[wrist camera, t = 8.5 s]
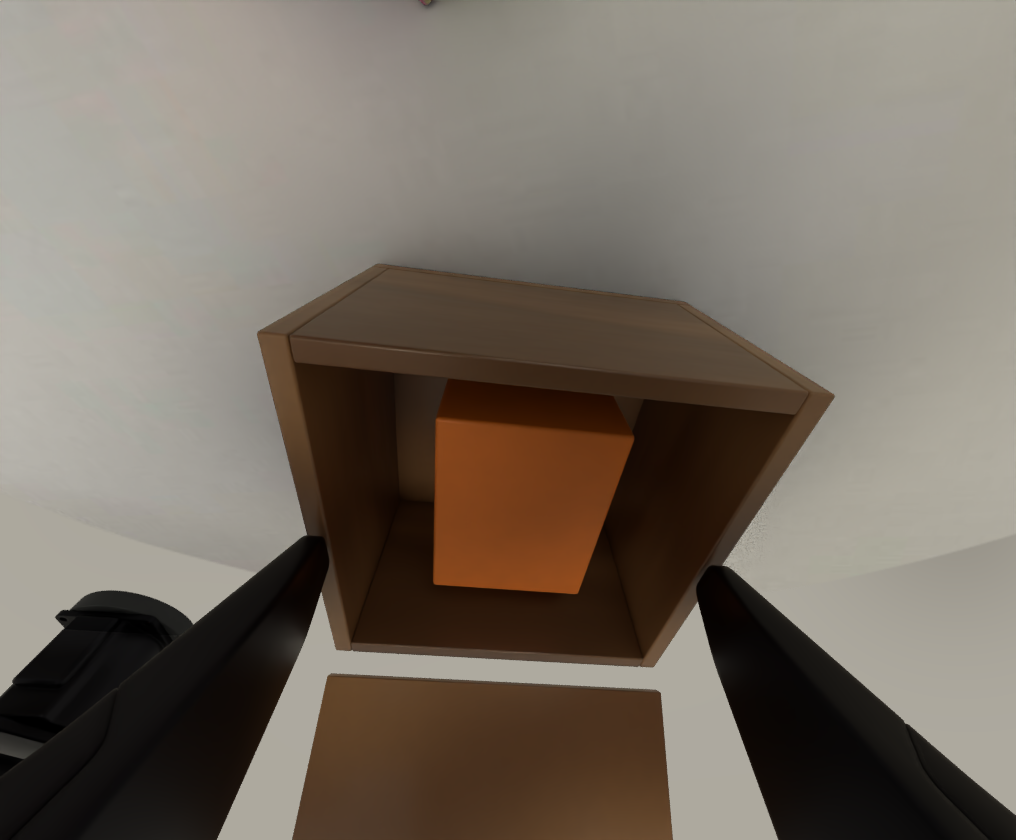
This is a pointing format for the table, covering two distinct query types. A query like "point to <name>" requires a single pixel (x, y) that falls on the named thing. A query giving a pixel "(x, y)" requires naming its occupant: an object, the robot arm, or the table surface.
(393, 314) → the brown wooden open container
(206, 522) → the table surface
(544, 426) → the orange block
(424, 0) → the box
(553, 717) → the flap
